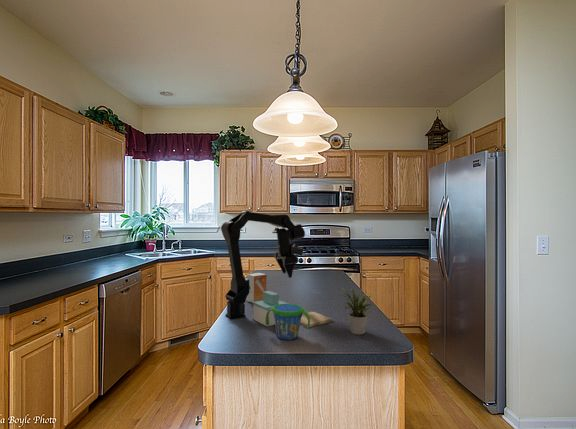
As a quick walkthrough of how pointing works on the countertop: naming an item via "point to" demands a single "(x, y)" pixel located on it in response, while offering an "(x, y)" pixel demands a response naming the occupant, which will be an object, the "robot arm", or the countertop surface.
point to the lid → (268, 300)
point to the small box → (256, 286)
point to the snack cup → (287, 320)
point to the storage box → (263, 316)
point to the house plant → (357, 313)
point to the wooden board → (314, 319)
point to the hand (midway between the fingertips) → (287, 275)
